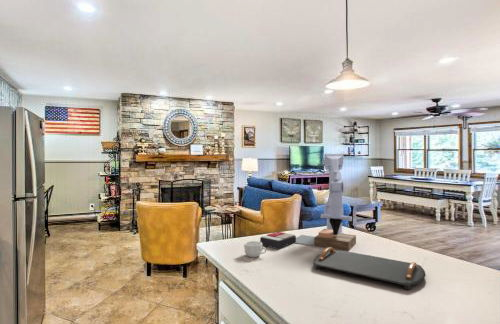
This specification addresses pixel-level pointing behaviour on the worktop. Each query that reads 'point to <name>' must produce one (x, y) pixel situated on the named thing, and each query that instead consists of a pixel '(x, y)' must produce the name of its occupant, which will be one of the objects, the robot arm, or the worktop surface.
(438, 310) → the worktop surface
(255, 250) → the teacup
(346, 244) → the brown flat block
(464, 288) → the worktop surface
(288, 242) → the calculator
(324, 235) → the peach upright slab
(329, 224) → the robot arm
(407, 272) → the serving board
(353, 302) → the worktop surface
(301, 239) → the mat
